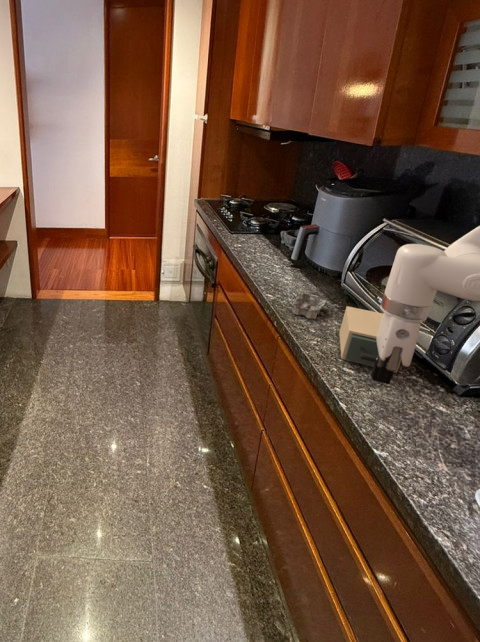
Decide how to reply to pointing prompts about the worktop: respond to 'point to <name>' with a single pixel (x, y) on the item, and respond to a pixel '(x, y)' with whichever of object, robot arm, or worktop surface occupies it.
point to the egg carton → (307, 305)
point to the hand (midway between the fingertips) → (379, 379)
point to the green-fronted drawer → (363, 350)
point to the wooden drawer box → (359, 327)
